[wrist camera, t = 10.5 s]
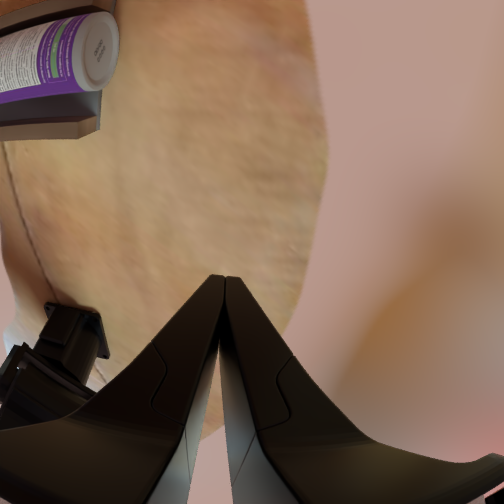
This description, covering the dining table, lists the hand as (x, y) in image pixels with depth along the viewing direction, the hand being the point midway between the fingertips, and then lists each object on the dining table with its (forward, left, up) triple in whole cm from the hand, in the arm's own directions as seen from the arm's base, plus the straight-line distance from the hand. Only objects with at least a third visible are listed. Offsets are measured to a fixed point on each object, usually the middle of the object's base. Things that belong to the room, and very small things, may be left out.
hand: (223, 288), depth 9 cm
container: (+7, +8, -9) cm, 14 cm away
